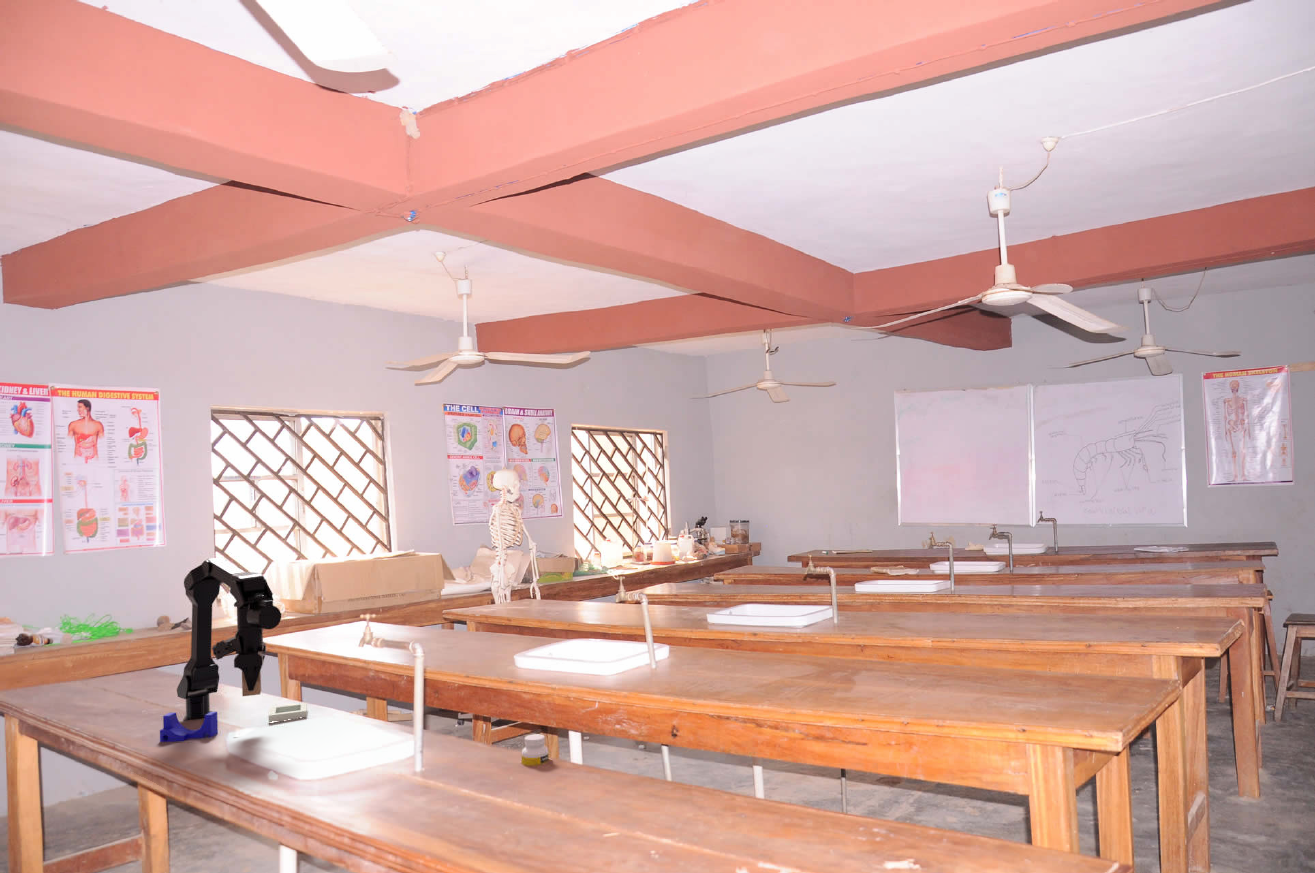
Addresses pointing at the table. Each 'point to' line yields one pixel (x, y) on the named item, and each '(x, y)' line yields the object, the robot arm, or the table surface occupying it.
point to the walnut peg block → (256, 689)
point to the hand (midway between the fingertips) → (251, 688)
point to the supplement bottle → (534, 750)
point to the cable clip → (179, 733)
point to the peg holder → (287, 712)
